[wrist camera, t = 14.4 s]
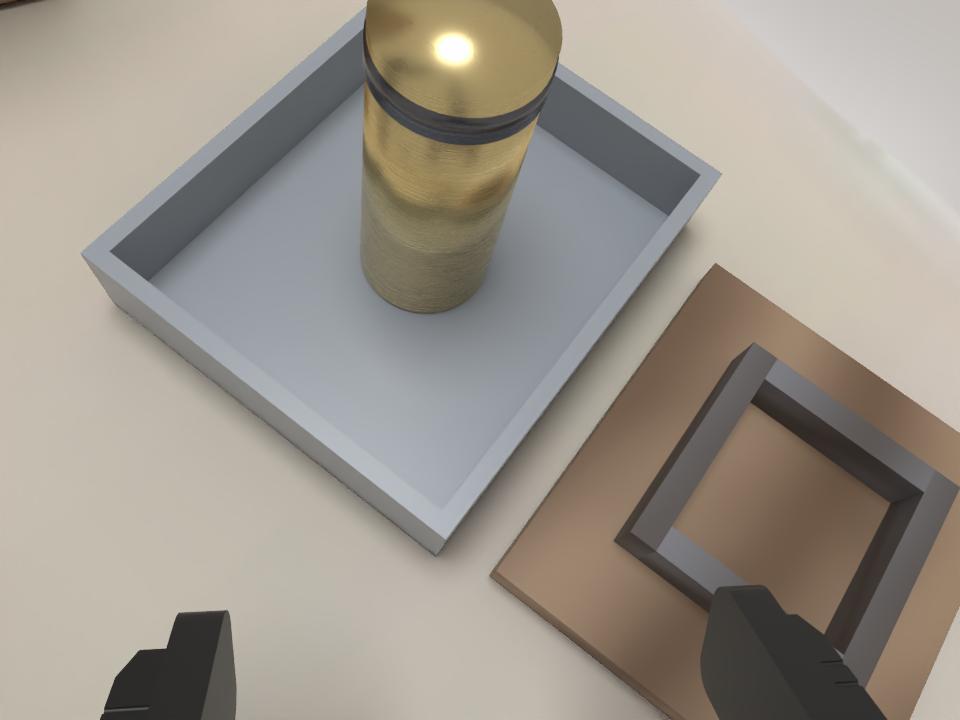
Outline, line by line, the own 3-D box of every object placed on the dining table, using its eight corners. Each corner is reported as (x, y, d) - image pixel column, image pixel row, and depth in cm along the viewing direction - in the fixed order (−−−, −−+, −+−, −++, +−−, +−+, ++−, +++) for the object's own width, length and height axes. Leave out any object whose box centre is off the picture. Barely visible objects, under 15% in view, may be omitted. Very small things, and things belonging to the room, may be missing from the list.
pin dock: (489, 575, 22) (505, 563, 20) (700, 280, 26) (735, 239, 24) (826, 839, 21) (889, 862, 18) (989, 482, 25) (1057, 461, 23)
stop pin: (330, 262, 24) (320, 23, 15) (412, 177, 26) (443, -83, 17) (438, 339, 24) (491, 139, 15) (514, 248, 25) (601, 19, 17)
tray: (113, 302, 23) (80, 252, 21) (409, 33, 29) (414, -36, 26) (435, 556, 22) (445, 539, 19) (685, 224, 27) (722, 173, 24)
